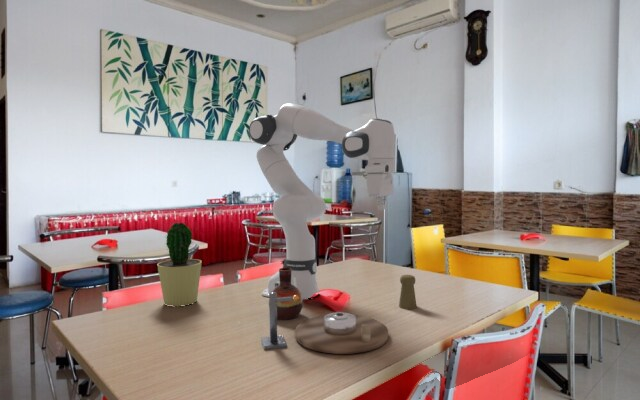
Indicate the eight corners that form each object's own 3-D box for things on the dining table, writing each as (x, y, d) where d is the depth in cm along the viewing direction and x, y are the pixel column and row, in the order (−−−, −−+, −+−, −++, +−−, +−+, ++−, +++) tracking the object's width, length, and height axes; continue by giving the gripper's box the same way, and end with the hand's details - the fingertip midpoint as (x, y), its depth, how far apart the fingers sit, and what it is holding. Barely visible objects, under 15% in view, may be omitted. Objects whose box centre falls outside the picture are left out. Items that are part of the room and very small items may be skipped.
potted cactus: (166, 312, 138) (164, 224, 137) (152, 302, 150) (150, 221, 149) (209, 303, 148) (207, 221, 147) (192, 294, 160) (191, 218, 159)
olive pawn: (417, 309, 138) (416, 277, 137) (398, 308, 139) (398, 276, 138) (416, 304, 144) (416, 273, 143) (399, 303, 145) (398, 273, 144)
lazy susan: (278, 330, 118) (278, 312, 118) (348, 313, 133) (348, 296, 133) (331, 363, 97) (331, 340, 96) (408, 338, 111) (407, 318, 111)
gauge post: (264, 349, 106) (263, 296, 105) (261, 341, 112) (260, 290, 111) (301, 345, 109) (300, 293, 108) (296, 337, 114) (296, 287, 114)
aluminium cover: (317, 328, 115) (317, 313, 115) (342, 322, 121) (342, 307, 120) (337, 338, 108) (337, 321, 108) (362, 330, 113) (362, 315, 113)
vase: (309, 313, 135) (308, 267, 134) (290, 323, 125) (289, 274, 125) (282, 308, 141) (281, 264, 140) (261, 318, 131) (261, 270, 130)
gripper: (380, 169, 145) (380, 207, 146) (363, 167, 127) (363, 211, 127) (397, 168, 143) (397, 207, 143) (383, 166, 124) (383, 212, 125)
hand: (381, 209), depth 135 cm, fingers closed
